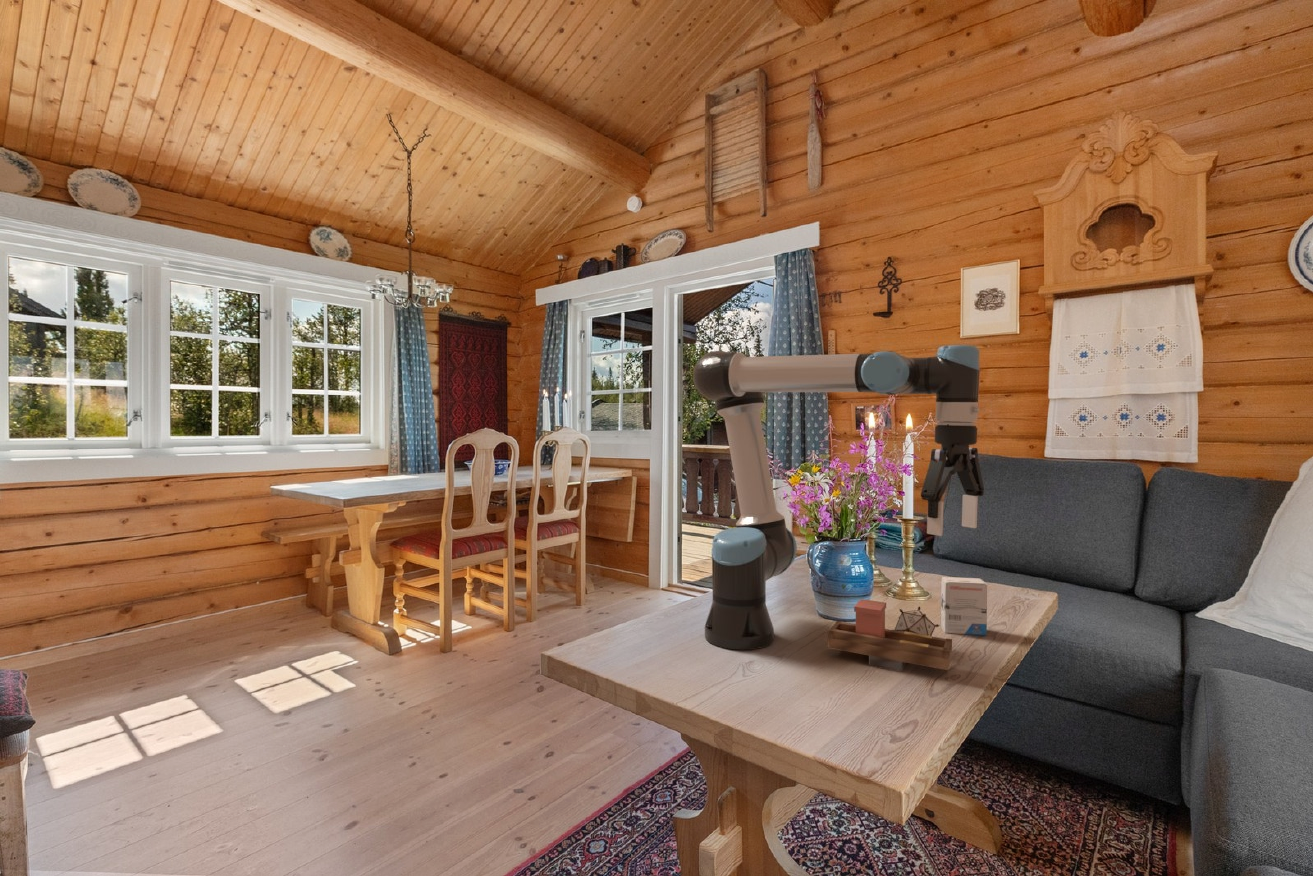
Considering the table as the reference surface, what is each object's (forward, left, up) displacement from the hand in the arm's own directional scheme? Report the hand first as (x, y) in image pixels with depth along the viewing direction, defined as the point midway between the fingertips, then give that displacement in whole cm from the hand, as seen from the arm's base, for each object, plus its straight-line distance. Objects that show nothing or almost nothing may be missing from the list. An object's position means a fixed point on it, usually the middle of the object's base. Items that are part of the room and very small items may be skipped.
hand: (952, 530), depth 122 cm
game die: (-7, +3, -26) cm, 27 cm away
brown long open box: (-10, -9, -26) cm, 29 cm away
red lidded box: (-14, -9, -21) cm, 27 cm away
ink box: (+1, +18, -26) cm, 32 cm away
